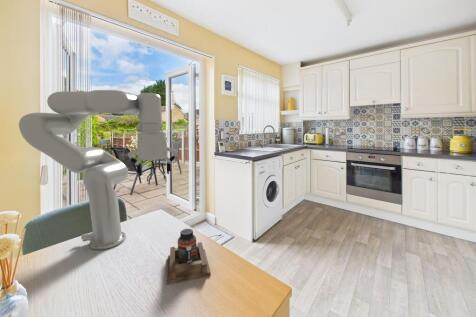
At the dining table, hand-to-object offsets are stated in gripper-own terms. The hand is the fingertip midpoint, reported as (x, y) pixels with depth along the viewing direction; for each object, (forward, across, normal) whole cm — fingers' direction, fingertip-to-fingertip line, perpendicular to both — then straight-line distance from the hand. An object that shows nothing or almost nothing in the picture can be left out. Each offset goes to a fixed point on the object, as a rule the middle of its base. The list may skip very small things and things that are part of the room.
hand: (154, 174), depth 79 cm
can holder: (+28, +10, -18) cm, 35 cm away
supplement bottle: (+28, +10, -17) cm, 34 cm away
